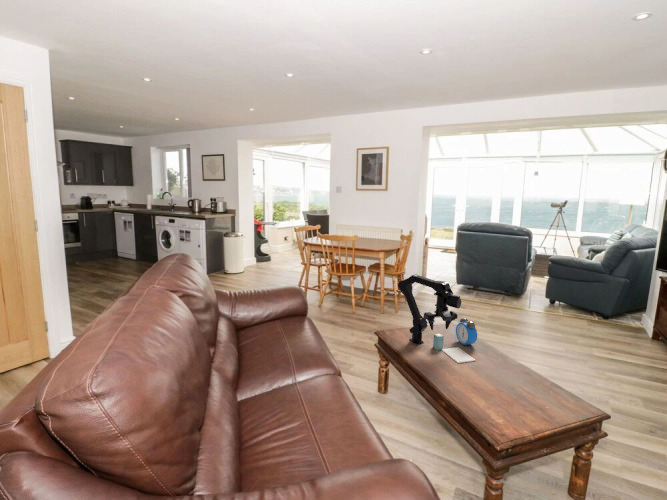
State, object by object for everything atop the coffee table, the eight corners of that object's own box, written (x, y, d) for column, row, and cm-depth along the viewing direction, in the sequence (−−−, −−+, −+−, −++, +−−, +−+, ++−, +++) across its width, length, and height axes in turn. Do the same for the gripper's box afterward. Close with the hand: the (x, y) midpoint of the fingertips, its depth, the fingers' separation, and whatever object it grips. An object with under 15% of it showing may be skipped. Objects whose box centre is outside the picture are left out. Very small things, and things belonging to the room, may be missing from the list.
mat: (441, 350, 207) (441, 349, 207) (458, 348, 210) (458, 347, 210) (457, 363, 192) (458, 362, 192) (475, 361, 195) (475, 360, 195)
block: (433, 346, 211) (434, 333, 210) (439, 346, 212) (440, 333, 211) (436, 349, 208) (437, 336, 206) (442, 349, 209) (443, 336, 207)
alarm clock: (454, 339, 222) (456, 316, 219) (463, 338, 224) (465, 315, 221) (468, 348, 210) (470, 324, 207) (476, 347, 212) (479, 323, 209)
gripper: (433, 309, 194) (431, 336, 197) (464, 307, 198) (461, 334, 201) (424, 302, 205) (422, 328, 207) (453, 301, 209) (450, 326, 212)
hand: (439, 329), depth 207 cm, fingers open, 9 cm apart
